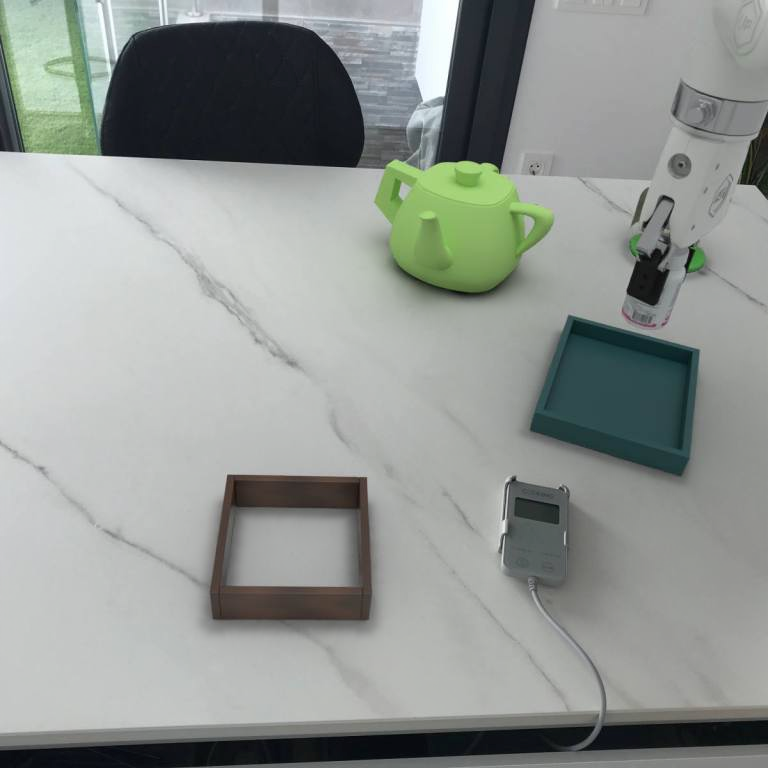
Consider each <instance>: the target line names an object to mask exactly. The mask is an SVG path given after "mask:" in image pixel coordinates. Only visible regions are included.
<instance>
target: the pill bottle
mask: <svg viewBox="0 0 768 768" xmlns="http://www.w3.org/2000/svg"><path fill="white" fill-rule="evenodd" d="M666 247H667V244H664V243H662V242H660V241H658V242H657V248H658V249H660V250H661V252H662V255H663V253H664V251H665V249H666ZM688 254H689V248H688V247H687V248H683V249H681V248H678V245H677V247H676V249H675V251H674V253H673V255H672V258H671V260H670V262H669V264H668V266H667V268H666V269H669V270H670V272H669V275H668V277H667V280H666V283H665V286H664V288H663V291H662V294H661V296H660V299H659V302H658V303H657V304H656V305H655V306H651V305H648V304H646V303H644V302H642V301H640V300H638V299H636V298H634V297H631V296H629V295H628V294H627V293H626V294H625V298H624V301H623V304H622V307H621V311H620V312H621V316H622V318H623V319H624V320H625V322H626V323H628V324H629V325H631V326H632V327H635V328H638V329H640V330H645V331H657V330H661V329H663V328H665V327H666V326H667V324H668V323H669V321H670V317H671V315H672V313H673V309H674V307H675V304H676V301H677V299H678V296H679V293H680V291H681V287H682V285H683V283H684V282H683V280H684V281H685V279H684V277H685V273H686V271H685V267H684V265H685V263H686V262H687V258H688ZM685 278H686V277H685ZM682 282H683V283H682Z"/></svg>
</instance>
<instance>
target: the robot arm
mask: <svg viewBox="0 0 768 768" xmlns="http://www.w3.org/2000/svg"><path fill="white" fill-rule="evenodd" d="M686 57H687V58H686V61H685V64H684V67H683V70H682V74H681V76H680V79H679V83H678V85H677V87H676V91H675V95H674V98H673V102H672V104H671V107H670V110H669V114H668V120H669V121H670V123H671V124H673V126H672V129H671V131H670V134H669V136H668V138H667V140H666V142H665V146H664V148H663V151H662V153H661V155H660V158H659V160H658V163H657V165H656V168H655V171H654V173H653V176H652V179H651V182H650V184H649V186H648V187H649V190H648V193H647V196H646V199H645V202H644V205H643V208H642V212H641V215H640V220H639V222H638V229H639V230H640V232H641V233H642V235H641V237H640V239H639V240H638V242H637V244H636V247H635V248H636V250H637V252H638V254H637V257H636V256H635V263H634V266H633V270H632V273H631V276H630V277H629V278H630V279H629V282H628V284H627V287H626V290H625V292H626V294H628V295H629V296H631V297H634V298H636V299H638V300H640V301H642V302H644V303H646V304H648V305H651V306H655V305H656V304H657V303H658V302H659V299H660V296H661V294H662V291H663V288H664V286H665V283H666V280H667V277H668V275H669V272H670V270H669V269H666V268H667V266H668V264H669V262H670V260H671V258H672V255H673V253H674V251H675V249H676V247H677V245H678V248H681V249H683V248H687V247H688V248H689V254H688V258H687V262H686V263H685V265H684V267H685V271H686V273H685V277H684V280H683V282H682V284H683V283H684V282H685V280H686V276H687V274H688V273H689V272H688V269H689V266H690V264H691V261H692V258H693V256H694V253H695V251H696V250H694V249H691V248H690V247H692V248H695V247H696V246H698V245H699V243H700V241H701V239H702V238H704V237H705V236H706V235H708V234H709V233H710V232H711V231H712V230H715V228H716V227H718V226H719V225H720V224H721V223H722V222H723V220H725V218H726V216H727V214H728V211H729V207H730V206H731V202H732V200H733V196H734V195H735V191H736V188H737V185H738V182H739V179H740V177H741V174H742V171H743V168H744V165H745V162H746V159H747V155H748V153H749V149H750V146H751V142H752V141H753V140H755V139H756V138H757V137H759V134H760V132H761V128H762V126H763V123H764V121H765V119H766V116H767V114H768V0H704V3H703V7H702V11H701V13H700V17H699V20H698V23H697V26H696V29H695V32H694V35H693V39H692V42H691V45H690V48H689V51H688V54H687V56H686ZM665 230H667V231H669V232H668V233H669V236H668V235H666V234H663V233H664V231H665ZM658 241H660V242H662V243H664V244H667V247H666V249H665V251H664V253H663V255H662V252H661V250H660V249H658V248H657V242H658Z"/></svg>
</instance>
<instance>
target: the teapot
mask: <svg viewBox="0 0 768 768" xmlns="http://www.w3.org/2000/svg"><path fill="white" fill-rule="evenodd" d="M383 171H384V172H383V174H382V178H381V180H380V183H379V186H378V189H377V192H376V195H375V198H374V201H373V203H374V205H376V207H377V208H378V209H379V210H380V212H381V213H382V214H383V216H384V217H385V218H386V219H387V220H388V222H389V223H390V225H391V230H390V234H389V242H388V246H389V250H390V253H391V255H392V257H393V258H394V260H395V262H396V263H397V265H398V266H399V267H400V268H401V269H402V270H403V271H404V272H406V273H407V274H409V275H410V276H412V277H414V278H416V279H418V280H420V281H422V282H424V283H426V284H430V285H432V286H436V287H439V288H443V289H446V290H452V291H457V292H463V293H484V292H488V291H490V290H493V289H494V288H495V287H497V286H498V285H499V284H500V283H501V282H503V281H504V280H505V279H506V278H507V277H508V276H509V275H510V274H512V273H513V271H514V270H515V269H516V267H517V266H518V264H519V262H520V260H521V258H522V256H523V254H525V253H526V252H528V251H529V250H530V249H532V248H533V247H534V246H536V245H537V244H538V243H539V242H540V241H542V240H543V239H545V237H546V236H547V235H548V234H549V232H550V231H551V230H552V227H553V226H554V222H555V216H554V213H553V211H552V210H551V209H549V208H547V207H545V206H542V205H538V204H534V203H528V202H521V199H520V195H519V193H518V190H517V187H516V185H515V183H514V182H513V181H512V180H511V179H510V178H509V177H507V176H505V175H503V174H501V173H500V169H499V168H498V167H497V166H496V165H495V164H492V163H489V162H483V163H478V162H474V161H470V160H460V161H458V162H454V161H453V162H452V161H450V162H449V161H447V162H439V163H437V164H434V165H432V166H431V167H429V168H428V169H426V170H425V171H424V170H422V169H419V168H417V167H415V166H412V165H410V164H408V163H407V162H406V163H405V162H403V161H401V160H399V159H397V158H395V159H393V160H392V161H391V162H389V163H388V164H386V165H385V169H384V170H383ZM402 183H403V184H405V185H407V186H409V187H410V190H409V191H408V192H407V195H406V196H405V198H404V199H402V197H400V195H399V194H400V190H401V186H402ZM525 216H527V217H530V218H531V219H532V220H533V221H534V224H533V227H532V228H531V230H530V231H529V233H528V234H527V235H526V225H525V224H526V223H525Z"/></svg>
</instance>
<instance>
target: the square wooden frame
mask: <svg viewBox="0 0 768 768" xmlns="http://www.w3.org/2000/svg"><path fill="white" fill-rule="evenodd" d="M368 488H369V487H368V477H367V476H338V475H337V476H336V475H335V476H332V475H331V476H327V475H281V474H279V475H278V474H277V475H276V474H231V473H230V474H227V475H226V479H225V487H224V494H223V500H222V506H221V513H220V521H219V526H218V527H219V528H218V534H217V541H216V548H215V554H214V559H213V567H212V575H211V582H210V588H209V599H210V609H211V617H212V619H213V620H309V621H310V620H312V621H313V620H322V621H325V620H326V621H328V620H330V621H332V620H335V621H336V620H337V621H338V620H339V621H343V620H344V621H345V620H347V621H350V620H351V621H352V620H353V621H356V620H357V621H360V620H361V621H363V620H364V621H369V620H370V614H371V605H372V596H373V589H372V587H373V586H372V564H371V563H372V562H371V542H370V541H371V540H370V539H371V538H370V537H371V536H370V516H369V513H370V512H369V490H368ZM237 507H252V508H253V507H254V508H256V507H258V508H259V507H260V508H262V507H263V508H265V507H266V508H314V509H315V508H316V509H318V508H320V509H356V511H357V542H358V544H357V547H358V548H357V549H358V578H359V579H358V582H359V586H300V585H299V586H291V585H290V586H288V585H286V586H283V585H281V586H280V585H278V586H277V585H274V586H273V585H227V579H228V572H229V571H228V570H229V563H230V557H231V556H230V555H231V549H232V548H231V547H232V539H233V532H234V526H235V517H236V509H237Z"/></svg>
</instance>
